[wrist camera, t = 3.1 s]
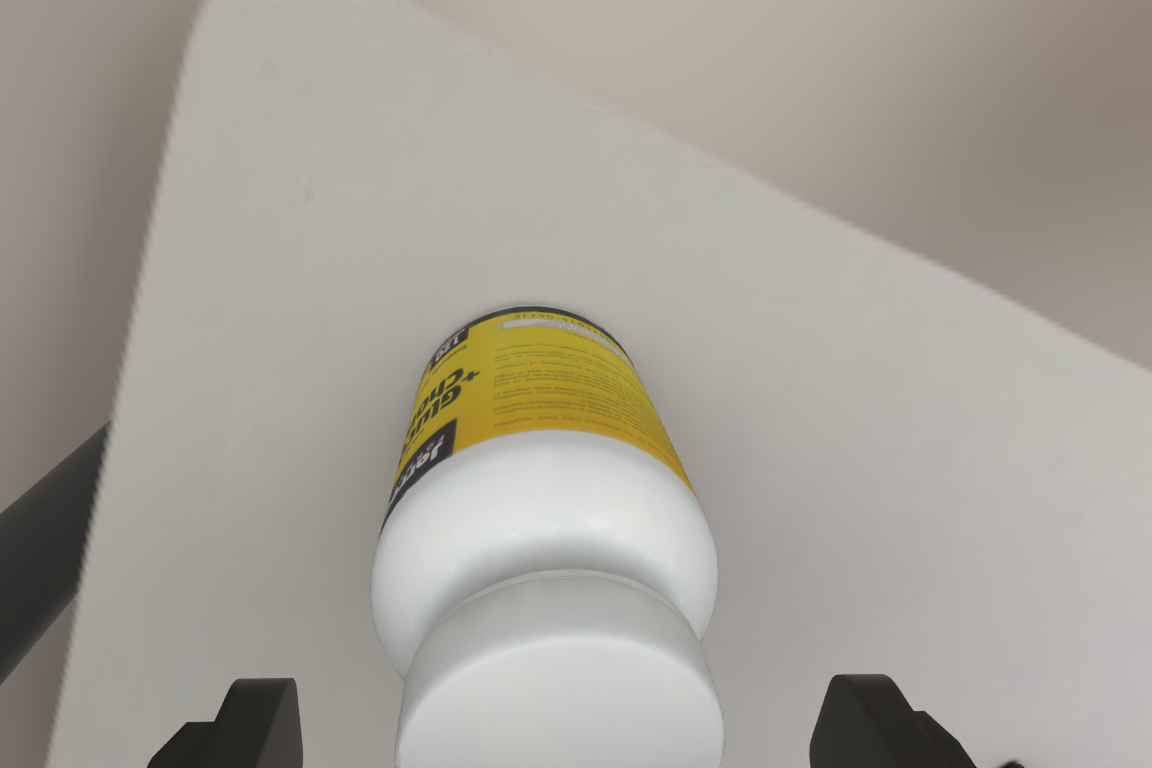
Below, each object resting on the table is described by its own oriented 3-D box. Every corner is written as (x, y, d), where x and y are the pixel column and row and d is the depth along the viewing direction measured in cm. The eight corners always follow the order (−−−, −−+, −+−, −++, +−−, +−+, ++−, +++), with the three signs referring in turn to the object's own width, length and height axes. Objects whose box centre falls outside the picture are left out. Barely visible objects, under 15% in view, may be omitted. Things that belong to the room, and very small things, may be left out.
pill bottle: (493, 252, 18) (487, 489, 7) (680, 370, 20) (885, 690, 9) (377, 435, 20) (238, 836, 9) (559, 527, 22) (616, 943, 11)
